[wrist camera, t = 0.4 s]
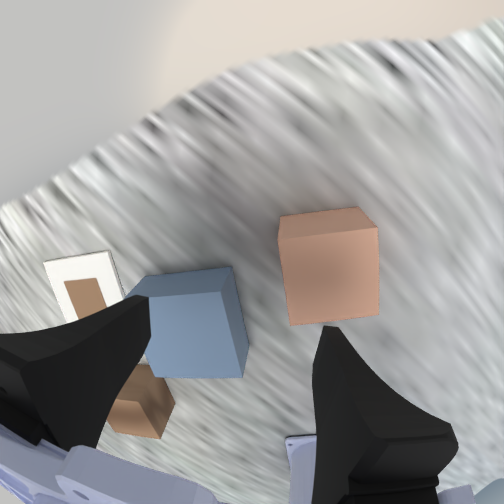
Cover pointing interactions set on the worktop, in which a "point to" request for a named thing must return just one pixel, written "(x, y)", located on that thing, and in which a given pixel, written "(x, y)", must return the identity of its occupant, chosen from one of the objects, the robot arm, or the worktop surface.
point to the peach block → (329, 265)
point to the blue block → (195, 324)
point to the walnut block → (142, 405)
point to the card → (84, 284)
